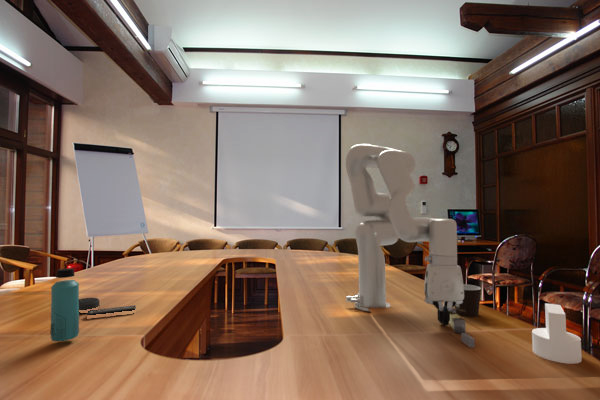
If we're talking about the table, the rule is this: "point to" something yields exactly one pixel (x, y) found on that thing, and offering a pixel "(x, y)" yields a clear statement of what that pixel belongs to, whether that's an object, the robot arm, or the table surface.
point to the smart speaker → (88, 303)
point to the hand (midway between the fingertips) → (443, 323)
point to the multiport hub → (111, 310)
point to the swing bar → (457, 322)
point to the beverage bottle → (64, 307)
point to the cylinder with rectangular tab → (556, 338)
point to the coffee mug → (469, 302)
